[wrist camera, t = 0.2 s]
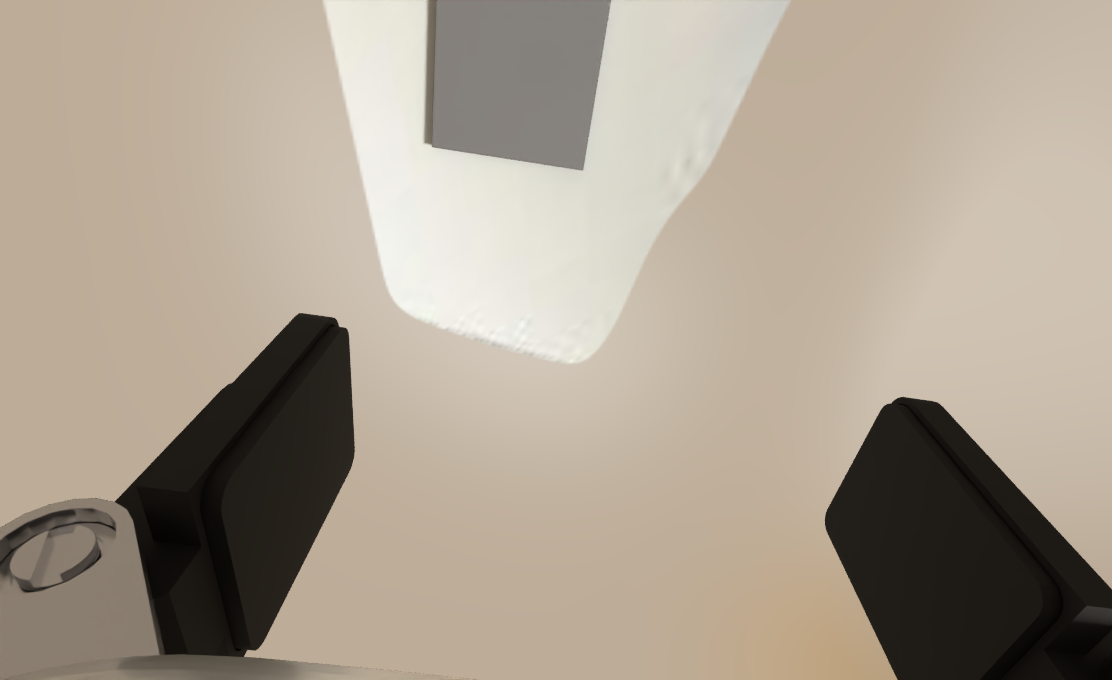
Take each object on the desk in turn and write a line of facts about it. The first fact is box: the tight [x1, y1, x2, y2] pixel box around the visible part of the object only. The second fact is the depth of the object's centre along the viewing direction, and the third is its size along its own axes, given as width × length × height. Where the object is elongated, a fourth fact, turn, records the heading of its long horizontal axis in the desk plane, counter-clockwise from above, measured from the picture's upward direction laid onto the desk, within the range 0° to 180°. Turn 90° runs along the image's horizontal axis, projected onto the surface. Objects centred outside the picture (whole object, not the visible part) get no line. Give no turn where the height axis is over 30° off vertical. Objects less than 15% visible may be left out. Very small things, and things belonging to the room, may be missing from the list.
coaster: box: [432, 0, 611, 170], centre depth 35 cm, size 10×10×1 cm
